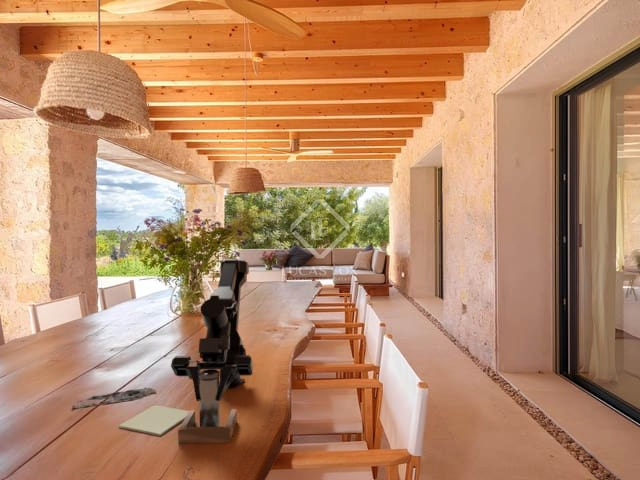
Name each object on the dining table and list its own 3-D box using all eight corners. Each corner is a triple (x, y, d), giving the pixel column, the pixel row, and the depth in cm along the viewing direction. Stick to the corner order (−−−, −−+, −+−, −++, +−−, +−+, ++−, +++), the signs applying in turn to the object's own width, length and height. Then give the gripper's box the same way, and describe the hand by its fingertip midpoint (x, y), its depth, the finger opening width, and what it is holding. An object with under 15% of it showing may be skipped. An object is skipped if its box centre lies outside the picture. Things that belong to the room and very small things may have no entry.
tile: (154, 406, 113) (154, 405, 113) (193, 413, 109) (192, 411, 109) (119, 427, 101) (118, 425, 101) (160, 436, 97) (160, 433, 97)
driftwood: (156, 390, 125) (156, 383, 125) (157, 399, 119) (157, 391, 119) (75, 402, 117) (75, 395, 117) (72, 412, 111) (71, 404, 111)
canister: (207, 421, 103) (206, 368, 102) (223, 425, 101) (223, 370, 101) (194, 430, 99) (194, 375, 98) (212, 434, 97) (211, 377, 96)
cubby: (190, 422, 104) (190, 410, 104) (236, 421, 105) (236, 409, 104) (178, 443, 94) (178, 429, 94) (229, 442, 95) (229, 428, 94)
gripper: (172, 323, 102) (157, 386, 92) (251, 322, 103) (245, 385, 93) (182, 345, 111) (169, 406, 100) (255, 345, 111) (250, 405, 101)
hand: (208, 400), depth 98 cm, fingers closed on canister, 4 cm apart
